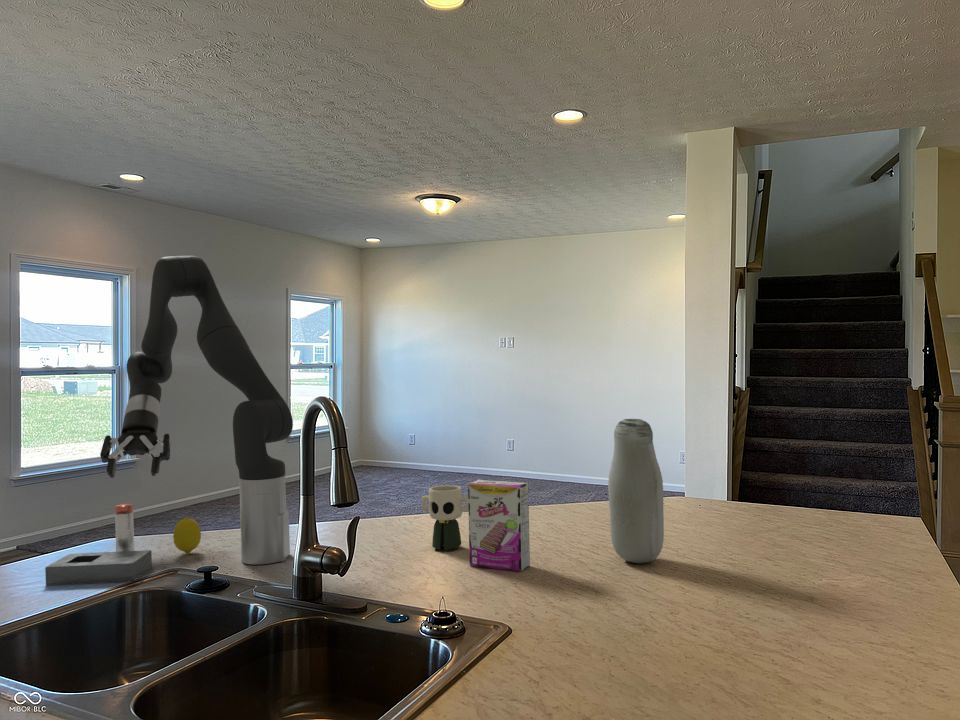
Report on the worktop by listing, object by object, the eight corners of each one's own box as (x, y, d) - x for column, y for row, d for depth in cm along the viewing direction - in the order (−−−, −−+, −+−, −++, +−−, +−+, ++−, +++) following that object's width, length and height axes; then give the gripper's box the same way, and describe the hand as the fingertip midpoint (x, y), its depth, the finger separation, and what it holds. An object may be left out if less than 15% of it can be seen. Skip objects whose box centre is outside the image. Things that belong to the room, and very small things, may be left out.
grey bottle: (672, 559, 141) (669, 417, 141) (646, 572, 134) (642, 422, 133) (629, 551, 148) (625, 415, 148) (601, 562, 140) (597, 419, 140)
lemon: (191, 557, 152) (190, 520, 152) (168, 557, 153) (167, 519, 153) (206, 550, 157) (205, 514, 157) (184, 550, 158) (183, 514, 158)
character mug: (417, 551, 152) (415, 490, 152) (428, 542, 159) (426, 484, 159) (466, 554, 149) (464, 491, 149) (475, 545, 156) (474, 485, 156)
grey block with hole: (151, 567, 146) (151, 550, 146) (133, 581, 136) (132, 563, 136) (70, 571, 144) (69, 553, 144) (45, 585, 135) (45, 567, 135)
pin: (137, 560, 151) (135, 503, 151) (130, 564, 148) (128, 506, 148) (120, 560, 151) (119, 504, 151) (113, 565, 148) (111, 507, 148)
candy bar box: (468, 567, 140) (466, 483, 140) (479, 560, 144) (477, 479, 144) (521, 573, 135) (519, 486, 135) (531, 565, 140) (529, 481, 140)
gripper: (105, 408, 166) (94, 466, 156) (172, 407, 170) (165, 463, 159) (111, 428, 172) (100, 486, 161) (175, 427, 175) (168, 482, 165)
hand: (132, 474), depth 160 cm, fingers open, 8 cm apart
